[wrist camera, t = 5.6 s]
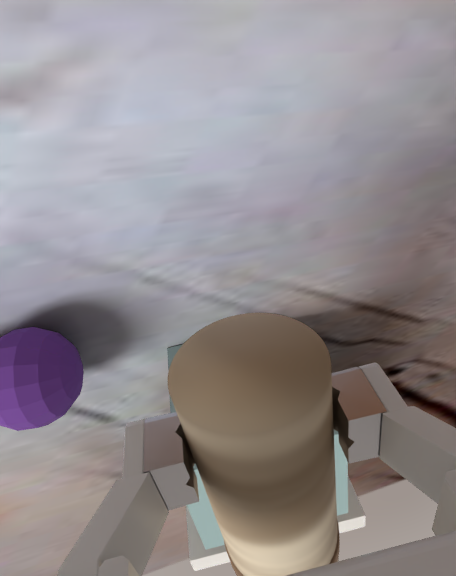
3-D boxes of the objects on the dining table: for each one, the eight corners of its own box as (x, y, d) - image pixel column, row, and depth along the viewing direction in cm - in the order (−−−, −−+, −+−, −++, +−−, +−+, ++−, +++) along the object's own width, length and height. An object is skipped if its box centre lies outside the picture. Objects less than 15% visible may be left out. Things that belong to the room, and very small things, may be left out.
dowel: (161, 333, 12) (172, 460, 8) (298, 297, 12) (365, 405, 8) (222, 511, 17) (244, 631, 14) (315, 484, 17) (359, 595, 14)
